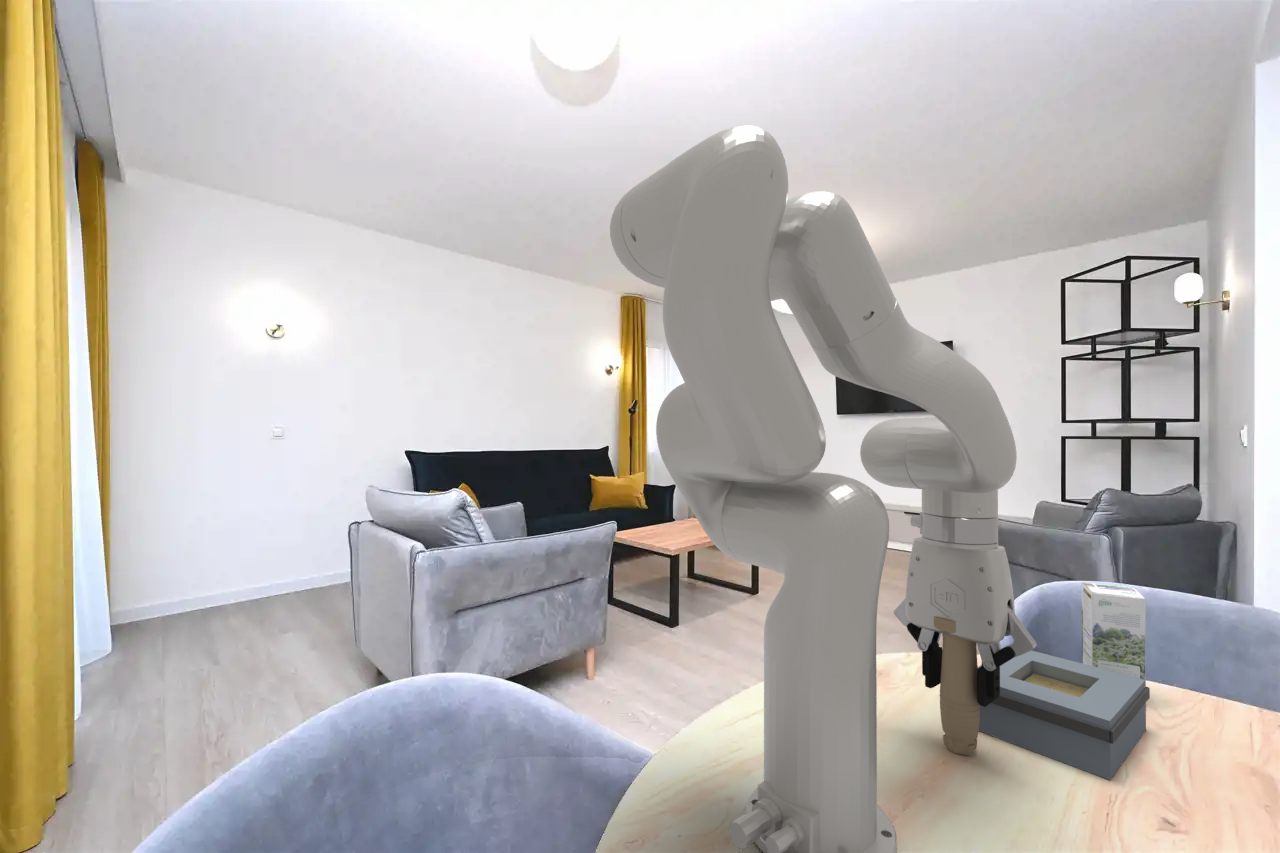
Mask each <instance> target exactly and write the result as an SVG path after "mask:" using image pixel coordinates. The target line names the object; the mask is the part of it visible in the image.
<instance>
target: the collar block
mask: <svg viewBox="0 0 1280 853" xmlns="http://www.w3.org/2000/svg"><path fill="white" fill-rule="evenodd" d="M977 666H978V668H979V667H981V666H982V664H980V665H977ZM1032 674H1037V675H1041V676H1044V677H1048V678H1051V679H1055V680H1059V681H1062V682H1066V683H1069V684H1073V685H1076V686H1080V687H1083V688H1087V689H1088V690H1087V691H1086V692H1085V693H1084V694H1083V695H1082V696H1081V697H1080V698H1079V697H1076V696H1073V695H1069V694H1066V693H1063V692H1059V691H1056V690H1052V689H1049V688H1046V687H1042V686H1039V685H1036V684H1032V683H1029V682H1025V681H1024V680H1026V679H1027V678H1028V677H1030V676H1031V675H1032ZM1146 680H1147V679H1146ZM1146 680H1144V679H1140V678H1136V677H1133V676H1129V675H1125V674H1121V673H1117V672H1113V671H1109V670H1105V669H1102V668H1098V667H1094V666H1090V665H1086V664H1082V662H1078V661H1075V660H1070V659H1066V658H1062V657H1057V656H1054V655H1051V654H1047V653H1042V652H1038V651H1034V650H1031V651H1029V652H1027V653H1024V654H1022V655H1020V656H1017V657H1015V658H1012V659H1011V660H1009V661H1007V662H1006V663H1004V664H1003V665H1001V666H1000V695H999V697H998V698H997V699H995V700H994V701H993V702H991V703H990V704H989V705H987V706H986V707H984V706H981V705H980V722H979V731H978V732H981V733H984V734H986V735H988V736H992V737H994V738H996V739H1000V740H1001V741H1005V742H1007V743H1010V744H1012V745H1013V744H1014V745H1016V746H1018V747H1020V748H1024V749H1026V750H1029V751H1031V752H1034V753H1037V754H1038V755H1039V754H1040V755H1042V756H1044V757H1048V758H1050V759H1052V760H1055V761H1058V762H1061V763H1063V764H1066V765H1068V766H1072V767H1074V768H1077V769H1079V770H1082V771H1085V772H1086V773H1090V774H1092V775H1094V776H1098V777H1100V778H1103V779H1106V780H1109V781H1111V780H1112V779H1113V777H1115V775H1116V773H1117V772H1118V771H1119V769H1120V767H1121V766H1122V765H1123V763H1124V762H1125V761H1126V759H1127V758H1128V756H1129V755H1130V754H1131V752H1132V750H1134V748H1135V747H1136V745H1137V744H1138V743H1139V741H1140V740H1141V738H1142V737H1143V735H1144V734H1145V733H1146V731H1147V702H1148V700H1150V697H1151V696H1150V691H1151V690H1150V689H1151V688H1150V687H1149V686H1146V684H1147V683H1146V682H1147V681H1146Z"/></svg>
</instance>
